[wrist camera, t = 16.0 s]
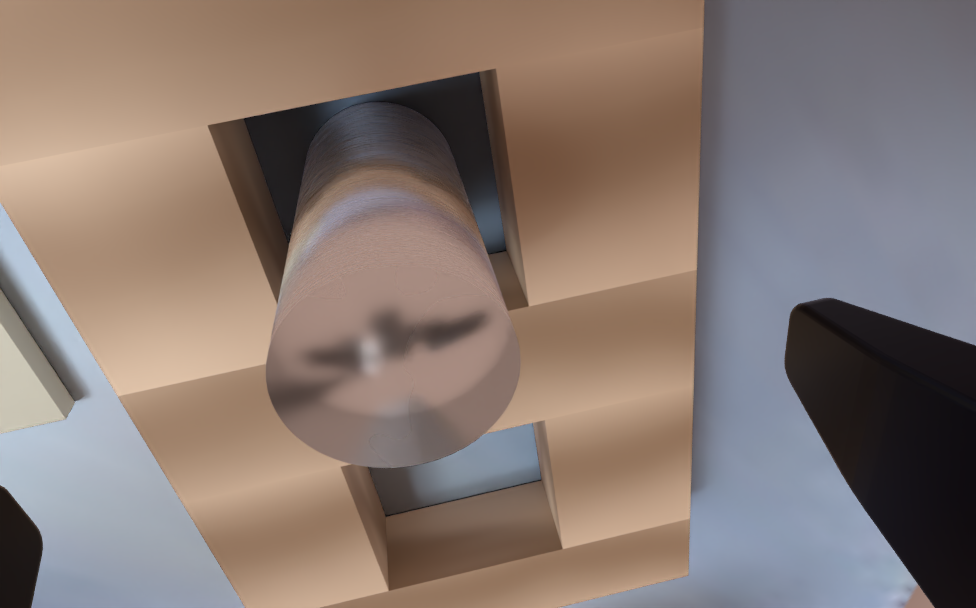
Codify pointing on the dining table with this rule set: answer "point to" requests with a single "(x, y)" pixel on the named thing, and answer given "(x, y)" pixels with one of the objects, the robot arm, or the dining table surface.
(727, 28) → the dining table surface
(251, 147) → the hole board
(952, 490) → the robot arm
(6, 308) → the plate
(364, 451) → the pin
